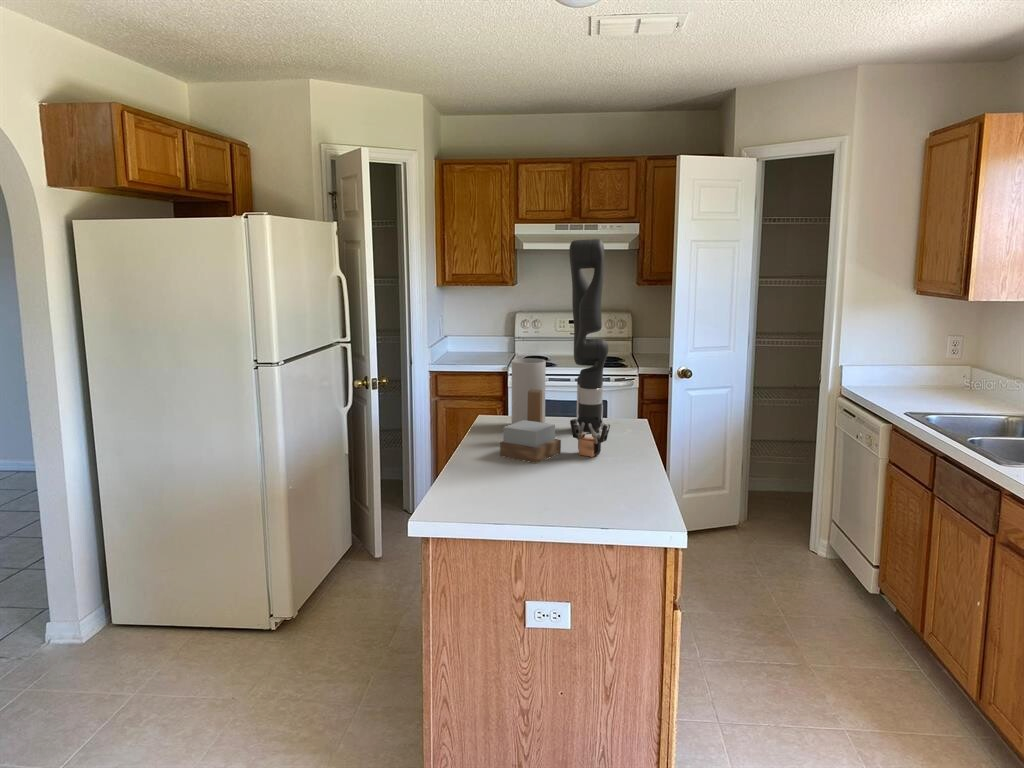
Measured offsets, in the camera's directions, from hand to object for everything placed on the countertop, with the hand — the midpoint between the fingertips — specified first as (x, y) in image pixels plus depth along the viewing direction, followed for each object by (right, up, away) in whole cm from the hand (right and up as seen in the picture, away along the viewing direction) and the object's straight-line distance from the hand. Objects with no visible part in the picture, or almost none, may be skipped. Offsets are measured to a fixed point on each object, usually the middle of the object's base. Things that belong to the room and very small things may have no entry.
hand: (589, 452), depth 239 cm
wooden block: (-15, +2, +15) cm, 21 cm away
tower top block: (-19, +4, -1) cm, 20 cm away
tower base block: (-19, -1, 0) cm, 19 cm away
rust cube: (0, -1, 0) cm, 0 cm away
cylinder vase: (-19, +6, +38) cm, 42 cm away
